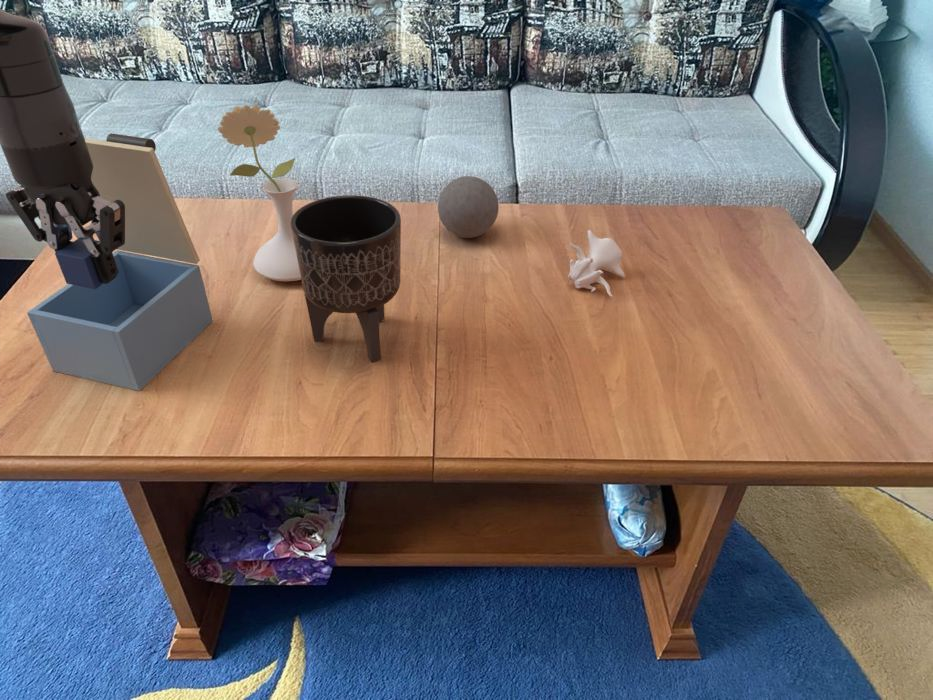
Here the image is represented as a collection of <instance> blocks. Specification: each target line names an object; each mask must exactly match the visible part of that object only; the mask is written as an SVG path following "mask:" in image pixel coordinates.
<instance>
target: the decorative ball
mask: <svg viewBox="0 0 933 700" xmlns="http://www.w3.org/2000/svg"><path fill="white" fill-rule="evenodd" d="M437 213H438V217H439V220H440V221H441V223H442V225H443V227H444V228H445V229H446V230H447V231H449V233H451V234H453V236H456V237H460V238H464V239H475V238H477V237H480V236H482V235H484V234H485V233H487V232H489V230H491V228H492V227H493V226H494V224H495V222H496V220H497V218H498V215H499V199H498V196H497V193H496V192H495V190H494V188H493V187H492V186H491V185H490V184H489V183H488V182H487V181H485V180H484V179H482V178H480V177H478V176H473V175H465V176H460V177H457V178H455V179H453V180H451V181H450V182H448V184H446V185H445V187H444V188H443V190H442V191H441V193H440V195H439V198H438V203H437Z"/></svg>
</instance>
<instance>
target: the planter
mask: <svg viewBox="0 0 933 700" xmlns="http://www.w3.org/2000/svg"><path fill="white" fill-rule="evenodd" d="M401 217H402V216H401V213H400V212H399V210H398V209H397V207H395V206H394V205H393V204H392V203H389V202H387V201H385V200H382V199H380V198H376V197H372V196H367V195H366V196H365V195H354V194H353V195H352V194H350V195H348V194H347V195H345V194H344V195H336V196H329V197H323V198H320V199H317V200H314V201H311V202H309V203H307V204H305V205H303V206H302V207H300V208H299V209H297V210H295V212H294V214H293V216H292V218H291V222H290V225H291V230H292V235H293V240H294V245H295V250H296V255H297V260H298V265H299V270H300V275H301V280H300V281H301V284H302V289H303V292H304V297H305V301H306V307H307V313H308V317H309V322H310V328H311V332H312V333H311V334H312V338H313V342H315V343H319V342H324V338H325V325H326V322H327V320H328V318H330V316H331V315H332V314H333V313H337V314H355V315H356V317H357V319H358V322H359V324H360V327H361V330H362V334H363V338H364V342H365V346H366V355H367V359H368V360H369V361H370V362H371V363H374V362H377V361H380V360H381V359H382V355H381V334H380V332H381V331H380V323H382V322H383V321H385V318H386V317H385V305H386V304H388V303H389V302H390V301H391V300H393V298H394V297H395V296H396V295H397V293H398V291H399V289H400V286H401V264H402V263H401V261H402V260H401V252H402V251H401V250H402V249H401V248H402V247H401V246H402V245H401V244H402V243H401V240H402V238H401V237H402V219H401Z"/></svg>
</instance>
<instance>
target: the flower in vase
mask: <svg viewBox="0 0 933 700" xmlns="http://www.w3.org/2000/svg"><path fill="white" fill-rule="evenodd" d="M275 116H276V115H275V114H274V113H272V111H271V109H261V107H260V106H259V105H258V104H254V105H252V106H251V107H250V105H248V104H244V105H243V106H242V107H240V106H234V107H233V109H232V111H226V112H225V115H223V116H221V120H220V122H219V124H220V126H218V127H217V130H218V132H219V133H220V134H221V137H222V138H223V139H226V142H227V143H229V144H230V145H234V146H235V147H240V146H243V147H244V148H252V149H253V154H254V159H255V163H256V165H252V164H250V163H249V164H248V163H242V164H240V165H239V164H238V165H237V166H236V167H235V168H233V170H232V171H231V173H230V176H238V177H247V178H253V177H255V176H256V175H257V174H258V173H259V172H262V173H263V174H264V175H265V177H267V178H268V180H267V181H265V182H264V183H263V184H262V186H261V188H262V190H263V191H264V192H265V193H266V194H267V195H268V196H269V197H270V199H271V201H272V203H273V206H274V209H275V212H276V217H277V225H278V227H277V232H276V234H275V235H274V236H273V237H271V238H270V239H269V240H268V241H266V242H265V243H264V244H263V245H261V247H260V248H259V249H258V250H257V251H256V253H255V255H254V257H253V263H252V265H253V269H255V271H256V272H257V273H259V274H260V275H261V276H262V277H264V278H266V279H269V280H272V281H275V282H276V281H277V282H295V281H302V280H301V275H300V270H299V265H298V260H297V255H296V250H295V245H294V240H293V235H292V230H291V225H290V222H291V218H292V216H293V215H294V214H293V213H294V212H293V199H294V196H295V192H296V190H297V189H298V187H299V182H298V181H297V180H295V179H294V178H293V179H292V178H288V177H284V176H286V175H287V174H288V173H289V172H290V171H291V170H292V168H293V166H294V164H295V161H296V157H293V158H291V159H289V160H287V161H284V162H281V163H279V164H277V165H276V166H275V168H274V170H273V171H272V173H271V174H272V175H271V176H270V174H268V172H267V171H266V170H264V168H263V167H262V165H261V164H260V162H259V158H258V154H257V150H256V148H257V147H259V146H260V145H262V146H263V145H264V146H265V145H266V144H267V143H268V142H271V141H272V142H273V141H274V140H275V139H276V135H278V133H279V132H278V131H279V130H280V129H281V126H280V125H279V124H280V122H279V120H278V119H276V117H275Z"/></svg>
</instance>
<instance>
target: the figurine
mask: <svg viewBox="0 0 933 700" xmlns="http://www.w3.org/2000/svg"><path fill="white" fill-rule="evenodd" d="M587 239H588V247H589V248H588V249H589V251H588V254H587V257H586V254H585V253H584V252H583V250H582V249H581V247H580V246H578V245H576V244H573V243H572V242H570V241H569V246H570V247H571V248H572V249H573V250H575V251H576V252H577V253H575V254H576V257H577V258H578V259H577V260H576V261H575V262H574V258H571V259H570V261H569V263H568V264H569V273H568V275H567V278H568V279H569V280H571V281H572V282H573V283H574V287H575V288H576V289H586V290H590V293H592V292H594V291H596V287H595V286H593V285H592V284H594V283H597V284H598V285H602V286H603V287H604V288H605V290H606V292H607V295H608V296H609V297H611V298H612V297H613V294H612V292H611V287H610V284H609V282H607V281H606V280H605V279H604V277H602V276H601V275H602V274H604V271H605V272H609V273H612V274H614V275H616V276H618V277H621V278H625V277H626V274H625V272H624V271H623V270H622V268H621V261H622V259H623V252H622V249H621V248H620V247H619V245H618V244H617V243H616V241H614V240H613V239H612V238H610V237H604V238H600V237H597V236H596V235H595V233H594V232H593V231H592V230H590V229H588V230H587Z"/></svg>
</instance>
